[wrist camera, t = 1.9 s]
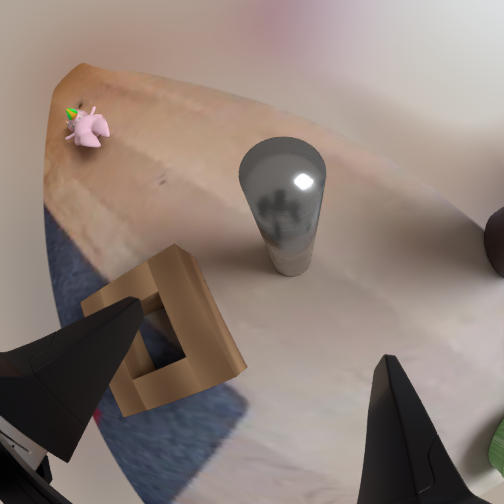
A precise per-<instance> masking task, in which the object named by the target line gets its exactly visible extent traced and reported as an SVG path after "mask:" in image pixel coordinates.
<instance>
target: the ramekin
mask: <svg viewBox="0 0 504 504" xmlns="http://www.w3.org/2000/svg"><path fill="white" fill-rule="evenodd" d="M488 458H489V462H490V464H491V465H492V466H493V467H495V468H496V469H497V470H498V471H499V472H500V473H501V474H502V476H503V478H504V419H503V420H502V422H501V423H500V425H499V427H498V428H497V430H496V432H495V434H494V436H493V438H492V441H491V444H490V447H489V453H488Z"/></svg>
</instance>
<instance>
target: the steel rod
mask: <svg viewBox="0 0 504 504" xmlns="http://www.w3.org/2000/svg"><path fill="white" fill-rule="evenodd" d="M325 180H326V167H325V163H324V160H323V158H322V157H321V155H320V154H319V152H318V151H317V150H316V149H315V148H314V147H313V146H311V145H310V144H308V143H307V142H305V141H302V140H300V139H297V138H292V137H274V138H270V139H267V140H264V141H262V142H260V143H258V144H256V145H255V146H254V147H252V148H251V149H250V150H249V151H248V152H247V153H246V155H245V156H244V158H243V160H242V162H241V164H240V168H239V181H240V185H241V187H242V190H243V192H244V194H245V197H246V199H247V202H248V204H249V206H250V209H251V211H252V213H253V216H254V218H255V221H256V223H257V225H258V228H259V230H260V233H261V235H262V237H263V240H264V242H265V245H266V247H267V249H268V252H269V254H270V257H271V259H272V262H273V264H274V266H275V268H276V270H277V271H278V272H279V273H281V274H283V275H285V276H288V277H294V276H298V275H301V274H302V273H304V272H305V271H306V270H307V268H308V266H309V264H310V260H311V256H312V251H313V246H314V241H315V236H316V231H317V225H318V220H319V215H320V209H321V203H322V198H323V192H324V186H325Z"/></svg>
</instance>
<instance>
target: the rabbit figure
mask: <svg viewBox="0 0 504 504" xmlns="http://www.w3.org/2000/svg"><path fill="white" fill-rule="evenodd" d="M76 110H77V111H76ZM76 110H74V109H70V108H67V109H66V113H67V116H68V118H69V122H66V121H65V122H66V123H67V125H68V128H69V130H70V131H71V132H74V133H73V134H71V135H70V136H67V137H66V140H69V139H71V138H72V137H74V136H75V144H76V145H82V146H87V147H95V148H97V147H100V146H101V144H100V142H99V141H98V139H97V137H98V136H99V135H101V136H105V137H107V138H108V137H109V135H110V133H109V128H108V125H107V122H106V120H105V119H104V118H103V116H102V115H101V114H96V115H93V114H94V112H95V110H96V107H95V106H94V107H93V108H92V111H91V113H90V115H87V113H86V112H85V111H80V110H78V109H76Z"/></svg>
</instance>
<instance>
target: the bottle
mask: <svg viewBox="0 0 504 504" xmlns="http://www.w3.org/2000/svg"><path fill="white" fill-rule="evenodd" d="M485 246H486V250H487V254H488V257H489V259H490V261H491V263H492V266H493V267H494V268H495V270H496V271H497V272H498V273H499V274H500V275H502V276H503V277H504V207H502V208H501V209H500V210H498V211H497V212H495V213H494V214H493V215H492V216H491V217H490V218H489V220H488V222H487V224H486V228H485Z"/></svg>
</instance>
